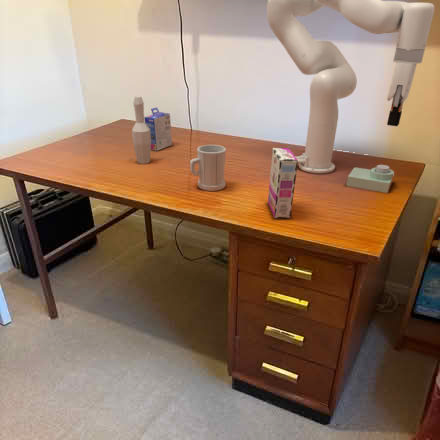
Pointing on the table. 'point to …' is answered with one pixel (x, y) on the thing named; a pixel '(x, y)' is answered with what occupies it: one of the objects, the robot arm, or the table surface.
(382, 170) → the grey push button
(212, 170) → the cup
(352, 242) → the table surface
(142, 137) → the faceted bottle
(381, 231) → the table surface
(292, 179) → the candy bar box
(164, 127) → the ink cartridge box
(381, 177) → the green push button box
